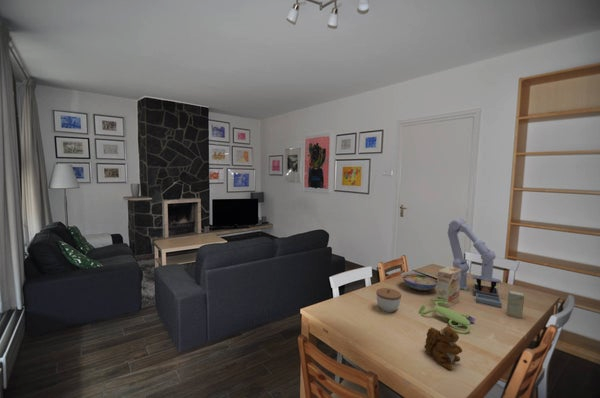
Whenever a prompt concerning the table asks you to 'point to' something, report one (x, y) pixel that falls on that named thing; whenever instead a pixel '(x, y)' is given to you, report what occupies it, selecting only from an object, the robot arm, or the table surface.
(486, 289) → the ball
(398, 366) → the table surface
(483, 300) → the tray
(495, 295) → the grey square frame
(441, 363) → the stuffed squirrel
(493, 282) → the robot arm
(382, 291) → the lidded bowl
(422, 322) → the table surface
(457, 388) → the table surface
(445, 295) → the coffeecake box
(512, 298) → the skincare box
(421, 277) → the ramen bowl
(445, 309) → the figurine
